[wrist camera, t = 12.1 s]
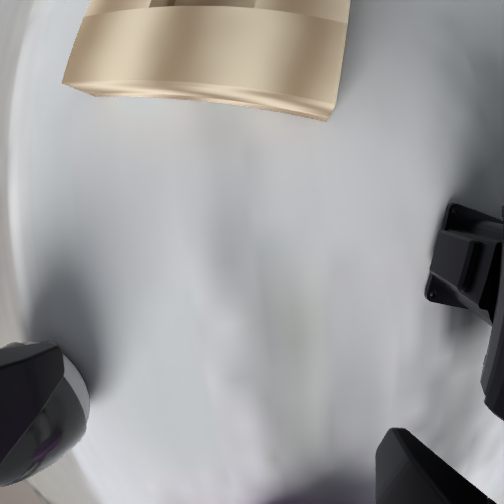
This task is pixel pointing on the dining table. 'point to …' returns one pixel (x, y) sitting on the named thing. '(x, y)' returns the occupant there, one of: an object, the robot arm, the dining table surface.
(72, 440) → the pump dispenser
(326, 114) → the housing
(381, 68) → the dining table surface
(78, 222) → the dining table surface
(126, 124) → the dining table surface
